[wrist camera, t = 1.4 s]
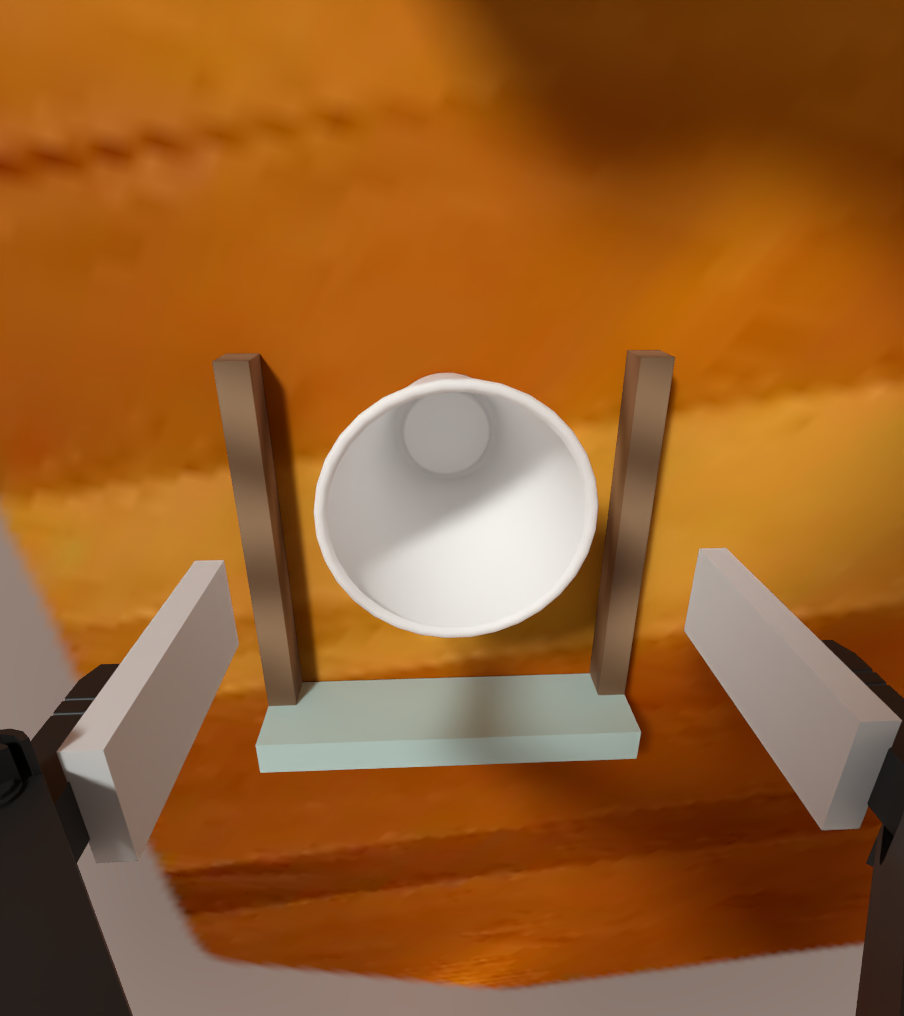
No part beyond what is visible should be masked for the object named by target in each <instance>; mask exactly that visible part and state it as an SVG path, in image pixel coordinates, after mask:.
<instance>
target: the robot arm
mask: <svg viewBox="0 0 904 1016" xmlns="http://www.w3.org/2000/svg"><path fill="white" fill-rule="evenodd" d="M684 631H685V633H686V634H687V636H688V637H689V638H690V640H691V641H692V643H693V644H694V646H695V647H696V649H697V650H698V651H699V653H700V654H701V656H702V657H703V659H704V660H705V662H706V663H707V665H708V666H709V667H710V669H711V670H712V672H713V673H714V675H715V676H716V678H717V679H718V681H719V682H720V683H721V685H722V686H723V688H724V689H725V691H726V692H727V694H728V695H729V696H730V698H731V699H732V701H733V702H734V704H735V705H736V707H737V708H738V710H739V711H740V712H741V714H742V715H743V717H744V718H745V720H746V721H747V723H748V724H749V726H750V727H751V728H752V730H753V731H754V733H755V734H756V736H757V737H758V739H759V740H760V742H761V743H762V744H763V746H764V747H765V749H766V750H767V752H768V753H769V755H770V756H771V757H772V759H773V760H774V762H775V763H776V765H777V766H778V768H779V769H780V771H781V772H782V773H783V775H784V776H785V778H786V779H787V781H788V782H789V784H790V785H791V787H792V788H793V789H794V791H795V792H796V794H797V795H798V797H799V798H800V800H801V801H802V802H803V804H804V805H805V807H806V808H807V810H808V811H809V813H810V814H811V816H812V817H813V818H814V820H815V821H816V823H817V824H818V826H819V827H820V829H821V830H839V829H860V826H861V823H862V821H863V818H864V816H865V813H866V811H867V808H868V806H869V807H870V808H871V809H872V811H873V812H874V813H875V814H876V816H877V817H878V818H879V819H880V821H881V822H882V823H883V824H882V826H881V828H880V831H879V833H878V836H877V838H876V841H875V843H874V845H873V848H872V850H871V853H870V855H869V858H868V860H867V862H866V863H867V864H869V865H871V866H874V867H873V876H872V884H871V892H870V900H869V909H868V917H867V925H866V933H865V942H864V950H863V958H862V967H861V975H860V983H859V991H858V1000H857V1008H856V1016H904V698H903V697H901V696H900V695H899V694H898V693H897V692H896V691H895V690H894V689H893V688H892V687H891V686H890V685H888V686H887V685H886V682H885V681H884V680H883V679H882V678H881V677H880V676H879V675H878V674H877V673H876V672H872V669H871V668H870V667H869V666H868V665H867V664H866V663H865V662H864V661H863V660H862V659H861V658H860V657H858V656H857V655H856V654H855V653H853V652H852V651H850V650H848V649H847V648H845V647H843V646H841V645H840V644H838V643H836V642H834V641H833V640H819V639H818V638H817V637H816V636H815V635H814V634H813V633H812V632H811V631H810V630H809V629H808V628H807V627H806V626H805V625H804V624H803V623H802V622H801V621H800V620H799V619H798V618H797V617H796V616H795V615H794V614H793V613H792V612H791V611H790V610H789V609H788V608H787V607H786V606H785V605H784V604H783V603H782V602H781V601H780V600H779V599H778V598H777V597H776V596H775V595H774V594H773V593H772V592H771V591H769V590H768V589H767V588H766V587H765V586H764V585H763V584H762V583H761V582H760V581H759V580H758V579H757V578H756V577H755V576H754V575H753V574H752V573H751V572H750V571H749V570H748V569H747V568H746V567H745V566H744V565H743V564H742V563H741V562H740V561H739V560H738V559H737V558H736V557H735V556H734V555H733V554H732V553H731V552H730V551H729V550H728V549H727V548H706V549H699V553H698V559H697V564H696V570H695V575H694V580H693V586H692V591H691V596H690V602H689V607H688V612H687V618H686V623H685V628H684ZM238 645H239V642H238V636H237V631H236V625H235V620H234V614H233V608H232V603H231V597H230V591H229V586H228V580H227V575H226V569H225V563H224V560H210V561H195V562H194V563H193V565H192V566H191V567H190V569H189V570H188V571H187V573H186V574H185V576H184V577H183V578H182V580H181V581H180V582H179V584H178V585H177V587H176V588H175V589H174V591H173V592H172V593H171V595H170V596H169V598H168V599H167V600H166V602H165V603H164V604H163V606H162V607H161V609H160V610H159V611H158V613H157V614H156V615H155V617H154V618H153V620H152V621H151V622H150V624H149V625H148V626H147V628H146V629H145V631H144V632H143V633H142V635H141V636H140V637H139V639H138V640H137V642H136V643H135V644H134V646H133V647H132V648H131V650H130V651H129V653H128V654H127V655H126V657H125V658H124V659H123V661H122V662H121V664H101V665H99V666H98V667H97V668H95V669H94V670H93V671H91V672H90V673H88V674H87V675H86V676H84V677H83V678H82V679H80V680H79V681H78V682H77V684H76V685H75V686H74V687H73V689H72V690H71V691H70V692H69V694H68V695H67V696H66V697H65V701H63V702H61V704H60V705H59V706H58V707H57V709H56V710H55V711H54V715H53V716H51V717H50V718H49V719H48V720H47V721H46V723H45V724H44V725H43V727H42V728H41V729H40V730H39V731H38V733H37V734H36V735H35V736H34V738H33V739H32V741H30V739H29V737H27V735H26V734H25V733H24V732H23V731H19V730H14V729H4V730H0V1016H133V1015H132V1012H131V1009H130V1007H129V1004H128V1001H127V998H126V996H125V993H124V990H123V987H122V985H121V982H120V979H119V977H118V974H117V971H116V968H115V966H114V963H113V961H112V958H111V955H110V952H109V949H108V947H107V944H106V941H105V939H104V936H103V933H102V931H101V928H100V925H99V922H98V920H97V917H96V914H95V911H94V909H93V906H92V903H91V901H90V898H89V895H88V892H87V890H86V887H85V884H84V882H83V879H82V876H81V873H80V871H79V868H78V865H77V862H78V860H79V858H80V856H81V855H82V853H83V851H84V849H85V847H86V846H87V844H88V842H89V844H90V847H91V850H92V852H93V855H94V858H95V861H96V863H109V862H131V861H139V859H140V857H141V854H142V852H143V850H144V848H145V846H146V844H147V841H148V839H149V837H150V835H151V833H152V831H153V828H154V826H155V824H156V822H157V820H158V818H159V815H160V813H161V811H162V809H163V807H164V805H165V803H166V800H167V798H168V796H169V794H170V792H171V790H172V787H173V785H174V783H175V781H176V779H177V777H178V774H179V772H180V770H181V768H182V766H183V764H184V761H185V759H186V757H187V755H188V753H189V751H190V749H191V746H192V744H193V742H194V740H195V738H196V736H197V733H198V731H199V729H200V727H201V725H202V723H203V720H204V718H205V716H206V714H207V712H208V710H209V707H210V705H211V703H212V701H213V699H214V697H215V694H216V692H217V690H218V688H219V686H220V684H221V682H222V679H223V677H224V675H225V673H226V671H227V669H228V666H229V664H230V662H231V660H232V658H233V656H234V653H235V651H236V649H237V647H238Z"/></svg>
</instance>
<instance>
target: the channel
mask: <svg viewBox="0 0 904 1016" xmlns="http://www.w3.org/2000/svg"><path fill="white" fill-rule="evenodd" d="M674 361H675V357H673V356H671V355H669V354H667V353H664V352H662V351H660V350H628V351H627V359H626V367H625V376H624V384H623V393H622V402H621V410H620V419H619V427H618V436H617V444H616V453H615V461H614V470H613V478H612V487H611V495H610V504H609V512H608V521H607V529H606V538H605V546H604V555H603V563H602V572H601V580H600V589H599V597H598V606H597V614H596V623H595V631H594V640H593V649H592V657H591V666H590V676H591V678H592V681H593V683H594V686H595V689H596V691H597V694H598V695H624V694H625V687H626V680H627V674H628V667H629V660H630V654H631V647H632V640H633V634H634V627H635V620H636V614H637V607H638V600H639V594H640V587H641V580H642V574H643V567H644V560H645V554H646V547H647V540H648V534H649V527H650V520H651V514H652V507H653V501H654V494H655V487H656V481H657V474H658V467H659V461H660V454H661V447H662V441H663V434H664V427H665V421H666V414H667V407H668V401H669V394H670V387H671V381H672V374H673V367H674ZM212 362H213V369H214V375H215V381H216V387H217V393H218V399H219V405H220V411H221V417H222V424H223V430H224V436H225V442H226V448H227V454H228V460H229V466H230V472H231V478H232V485H233V491H234V497H235V503H236V509H237V515H238V521H239V527H240V533H241V540H242V546H243V552H244V558H245V564H246V570H247V576H248V582H249V588H250V595H251V601H252V607H253V613H254V619H255V625H256V631H257V637H258V643H259V649H260V656H261V662H262V668H263V674H264V680H265V686H266V692H267V698H268V704H269V706H289V705H296V704H297V701H298V697H299V693H300V690H301V686H302V674H301V667H300V659H299V652H298V644H297V636H296V629H295V621H294V613H293V606H292V598H291V591H290V583H289V575H288V568H287V560H286V552H285V545H284V537H283V529H282V522H281V514H280V507H279V499H278V491H277V484H276V476H275V468H274V461H273V453H272V446H271V438H270V430H269V423H268V415H267V407H266V400H265V392H264V384H263V377H262V369H261V362H260V354H225V355H223V356H221V357H219V358H218V359H216V360H214V361H212Z"/></svg>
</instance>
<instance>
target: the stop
mask: <svg viewBox="0 0 904 1016" xmlns="http://www.w3.org/2000/svg"><path fill="white" fill-rule="evenodd" d="M640 736H641V731H640V728H639V726H638V724H637V722H636V719H635V717H634V715H633V713H632V710H631V708H630V706H629V704H628V702H627V699H626V697H625V695H598V694H597V691H596V689H595V686H594V683H593V681H592V678H591V676H590V673H587V674H554V675H522V676H490V677H458V678H426V679H393V680H361V681H329V682H302V686H301V690H300V693H299V697H298V701H297V704H296V705H289V706H269V707H268V710H267V713H266V716H265V719H264V722H263V725H262V728H261V731H260V734H259V737H258V740H257V743H256V750H257V756H258V761H259V767H260V772H261V773H262V772H289V771H316V770H343V769H370V768H397V767H423V766H450V765H477V764H504V763H531V762H558V761H585V760H612V759H637V753H638V747H639V742H640Z"/></svg>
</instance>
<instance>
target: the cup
mask: <svg viewBox="0 0 904 1016" xmlns="http://www.w3.org/2000/svg"><path fill="white" fill-rule="evenodd" d="M597 514H598V496H597V487H596V479H595V476H594V473H593V470H592V467H591V464H590V461H589V458H588V456H587V453H586V452H585V450H584V448H583V447H582V445H581V443H580V442H579V440H578V439H577V437H576V435H575V434H574V432H573V431H572V429H571V428H570V427H569V426H568V425H567V424H566V423H565V422H564V421H563V420H562V419H561V418H560V417H559V416H558V415H557V414H556V413H555V412H554V411H553V410H552V409H550V408H549V407H547V406H546V405H544V404H543V403H541V402H540V401H538V400H537V399H535V398H534V397H532V396H531V395H529V394H526V393H524V392H521V391H519V390H516V389H514V388H511V387H509V386H506V385H504V384H501V383H496V382H490V381H485V380H479V379H474V378H470V377H468V376H465V375H461V374H456V373H437V374H433V375H428V376H425V377H423V378H421V379H419V380H416V381H415V382H413V383H412V384H411V385H409V386H408V387H406V388H404V389H402V390H399V391H397V392H395V393H392V394H390V395H388V396H386V397H383V398H382V399H381V400H379V401H378V402H376V403H375V404H373V405H372V406H371V407H369V408H368V409H366V410H365V411H363V412H362V413H361V414H359V415H358V416H357V417H356V418H355V420H354V421H353V422H352V423H351V424H350V425H349V426H348V427H347V428H346V429H345V430H344V431H343V432H342V433H341V434H340V436H339V437H338V439H337V441H336V442H335V444H334V446H333V447H332V449H331V451H330V452H329V454H328V456H327V457H326V459H325V461H324V464H323V467H322V470H321V473H320V476H319V479H318V482H317V486H316V495H315V504H314V518H315V527H316V536H317V540H318V542H319V545H320V548H321V551H322V554H323V557H324V560H325V562H326V564H327V565H328V567H329V569H330V570H331V572H332V574H333V576H334V577H335V579H336V581H337V582H338V583H339V585H340V586H341V587H342V588H343V589H344V590H345V591H346V592H347V593H348V595H349V596H350V597H351V598H352V599H353V600H354V601H355V602H356V603H358V604H359V605H360V606H362V607H363V608H364V609H366V610H367V611H368V612H370V613H371V614H372V615H374V616H375V617H377V618H379V619H381V620H383V621H385V622H387V623H389V624H391V625H393V626H395V627H397V628H401V629H404V630H407V631H410V632H414V633H417V634H420V635H428V636H435V637H443V638H454V637H473V636H478V635H483V634H488V633H493V632H497V631H500V630H502V629H505V628H508V627H510V626H513V625H516V624H518V623H520V622H522V621H524V620H525V619H527V618H529V617H531V616H532V615H534V614H536V613H538V612H539V611H541V610H542V609H543V608H545V607H546V606H547V605H548V604H549V603H551V602H552V601H553V600H554V599H555V598H557V597H558V596H559V595H560V594H561V593H562V592H563V590H564V589H565V588H566V587H567V586H568V584H569V583H570V582H571V581H572V580H573V578H574V577H575V576H576V575H577V573H578V571H579V569H580V567H581V566H582V564H583V562H584V560H585V558H586V557H587V555H588V553H589V549H590V546H591V543H592V540H593V537H594V534H595V531H596V524H597Z"/></svg>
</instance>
